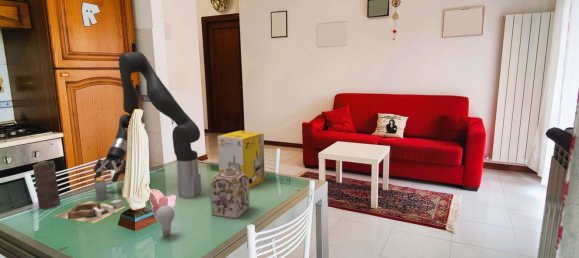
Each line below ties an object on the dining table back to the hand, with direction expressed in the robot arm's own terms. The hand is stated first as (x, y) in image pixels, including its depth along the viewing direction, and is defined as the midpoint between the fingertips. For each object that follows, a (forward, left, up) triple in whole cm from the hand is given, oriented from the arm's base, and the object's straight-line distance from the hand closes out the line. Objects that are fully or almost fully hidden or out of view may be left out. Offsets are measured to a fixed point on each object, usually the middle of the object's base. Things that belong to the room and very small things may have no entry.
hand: (104, 181), depth 152 cm
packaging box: (-50, -38, -8) cm, 63 cm away
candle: (+14, +15, -8) cm, 23 cm away
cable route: (-14, +14, -7) cm, 21 cm away
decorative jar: (-61, -4, -8) cm, 61 cm away
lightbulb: (-49, +21, -8) cm, 54 cm away
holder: (-7, +17, -7) cm, 20 cm away
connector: (-1, +3, -8) cm, 9 cm away
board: (-8, +15, -8) cm, 19 cm away
